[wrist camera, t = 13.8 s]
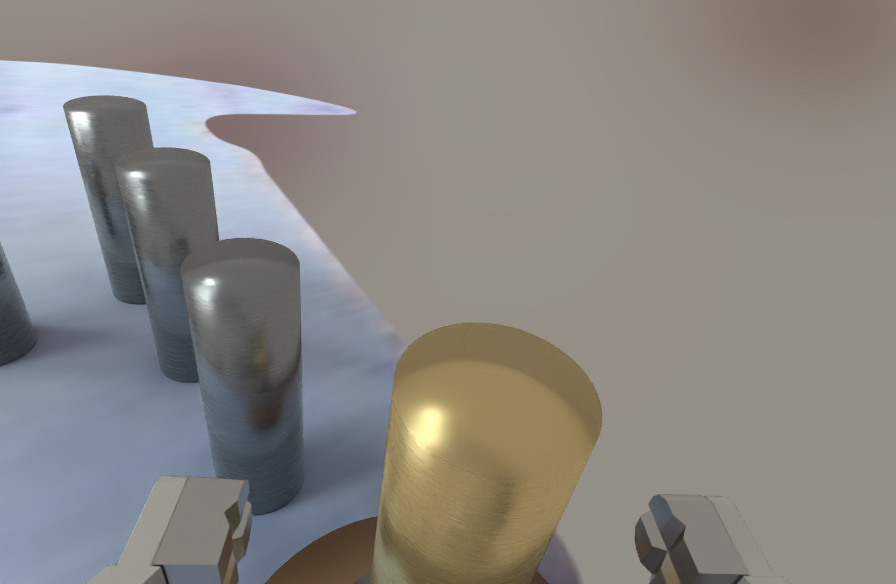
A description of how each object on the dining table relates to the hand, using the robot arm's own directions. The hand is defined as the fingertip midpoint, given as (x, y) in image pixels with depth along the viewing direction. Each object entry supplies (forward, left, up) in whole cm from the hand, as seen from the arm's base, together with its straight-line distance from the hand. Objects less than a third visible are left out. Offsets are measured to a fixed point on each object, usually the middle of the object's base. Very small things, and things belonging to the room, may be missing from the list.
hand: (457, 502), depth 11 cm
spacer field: (-18, 0, -9) cm, 20 cm away
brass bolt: (+1, -1, -8) cm, 8 cm away
